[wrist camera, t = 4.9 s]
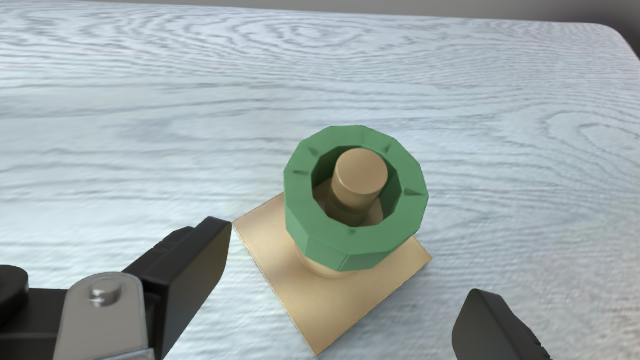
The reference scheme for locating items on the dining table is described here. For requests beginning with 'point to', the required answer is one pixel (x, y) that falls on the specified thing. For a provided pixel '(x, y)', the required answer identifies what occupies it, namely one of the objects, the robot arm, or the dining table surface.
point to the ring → (337, 238)
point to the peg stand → (318, 280)
